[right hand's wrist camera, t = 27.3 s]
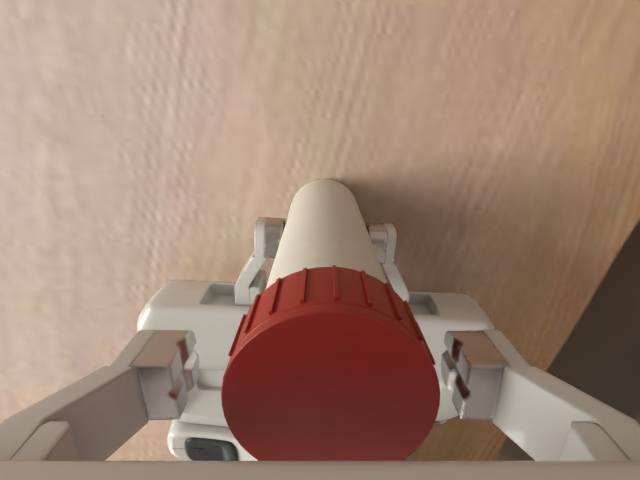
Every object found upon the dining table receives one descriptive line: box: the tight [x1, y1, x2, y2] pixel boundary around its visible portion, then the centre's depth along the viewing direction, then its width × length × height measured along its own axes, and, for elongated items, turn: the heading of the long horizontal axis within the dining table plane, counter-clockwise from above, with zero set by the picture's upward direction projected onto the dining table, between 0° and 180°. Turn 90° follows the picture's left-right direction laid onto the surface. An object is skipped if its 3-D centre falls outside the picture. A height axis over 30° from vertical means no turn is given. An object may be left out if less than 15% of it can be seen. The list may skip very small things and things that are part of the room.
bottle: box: [266, 179, 387, 289], centre depth 16 cm, size 4×4×16 cm
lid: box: [221, 265, 440, 461], centre depth 9 cm, size 5×5×2 cm
